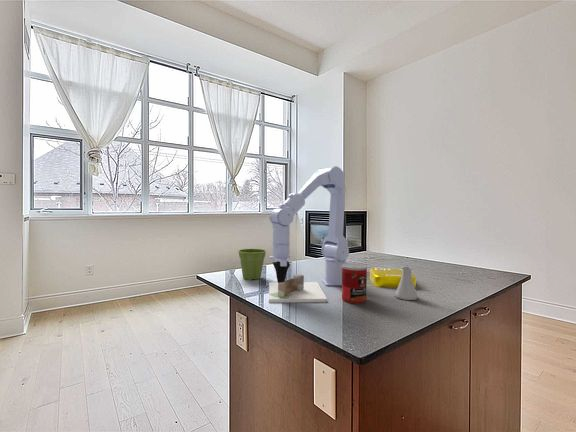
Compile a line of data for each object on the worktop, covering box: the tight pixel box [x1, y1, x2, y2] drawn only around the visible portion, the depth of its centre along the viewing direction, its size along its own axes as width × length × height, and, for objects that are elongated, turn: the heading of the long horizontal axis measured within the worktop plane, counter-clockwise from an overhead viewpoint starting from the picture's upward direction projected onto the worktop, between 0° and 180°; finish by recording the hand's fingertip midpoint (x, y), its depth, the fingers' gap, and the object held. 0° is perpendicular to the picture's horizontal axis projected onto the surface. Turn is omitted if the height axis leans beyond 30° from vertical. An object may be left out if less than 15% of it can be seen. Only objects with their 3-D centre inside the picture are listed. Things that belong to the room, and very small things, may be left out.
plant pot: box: [237, 248, 268, 281], centre depth 124 cm, size 12×12×11 cm
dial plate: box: [268, 281, 328, 304], centre depth 104 cm, size 18×20×1 cm
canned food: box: [341, 262, 368, 304], centre depth 97 cm, size 8×8×11 cm
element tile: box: [369, 267, 417, 289], centre depth 119 cm, size 15×15×5 cm
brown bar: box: [278, 273, 305, 297], centre depth 100 cm, size 13×4×4 cm, turn 147°
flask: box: [394, 265, 419, 301], centre depth 100 cm, size 7×7×10 cm
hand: (281, 283), depth 104 cm, fingers closed
